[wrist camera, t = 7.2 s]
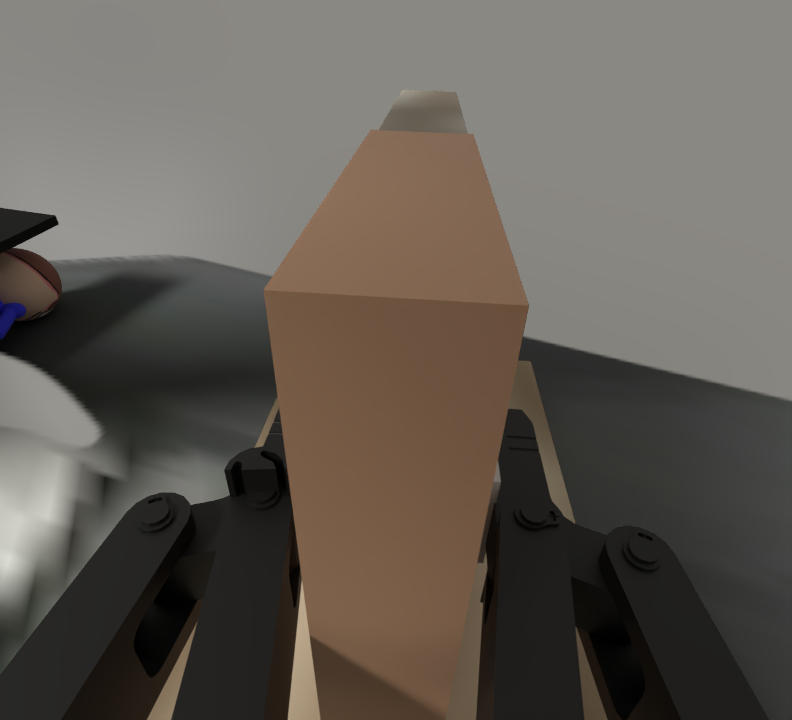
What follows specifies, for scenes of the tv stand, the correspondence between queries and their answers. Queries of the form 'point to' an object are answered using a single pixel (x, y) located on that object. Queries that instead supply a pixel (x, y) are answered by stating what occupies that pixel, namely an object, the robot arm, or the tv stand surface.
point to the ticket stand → (304, 716)
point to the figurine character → (25, 270)
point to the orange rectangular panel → (394, 413)
